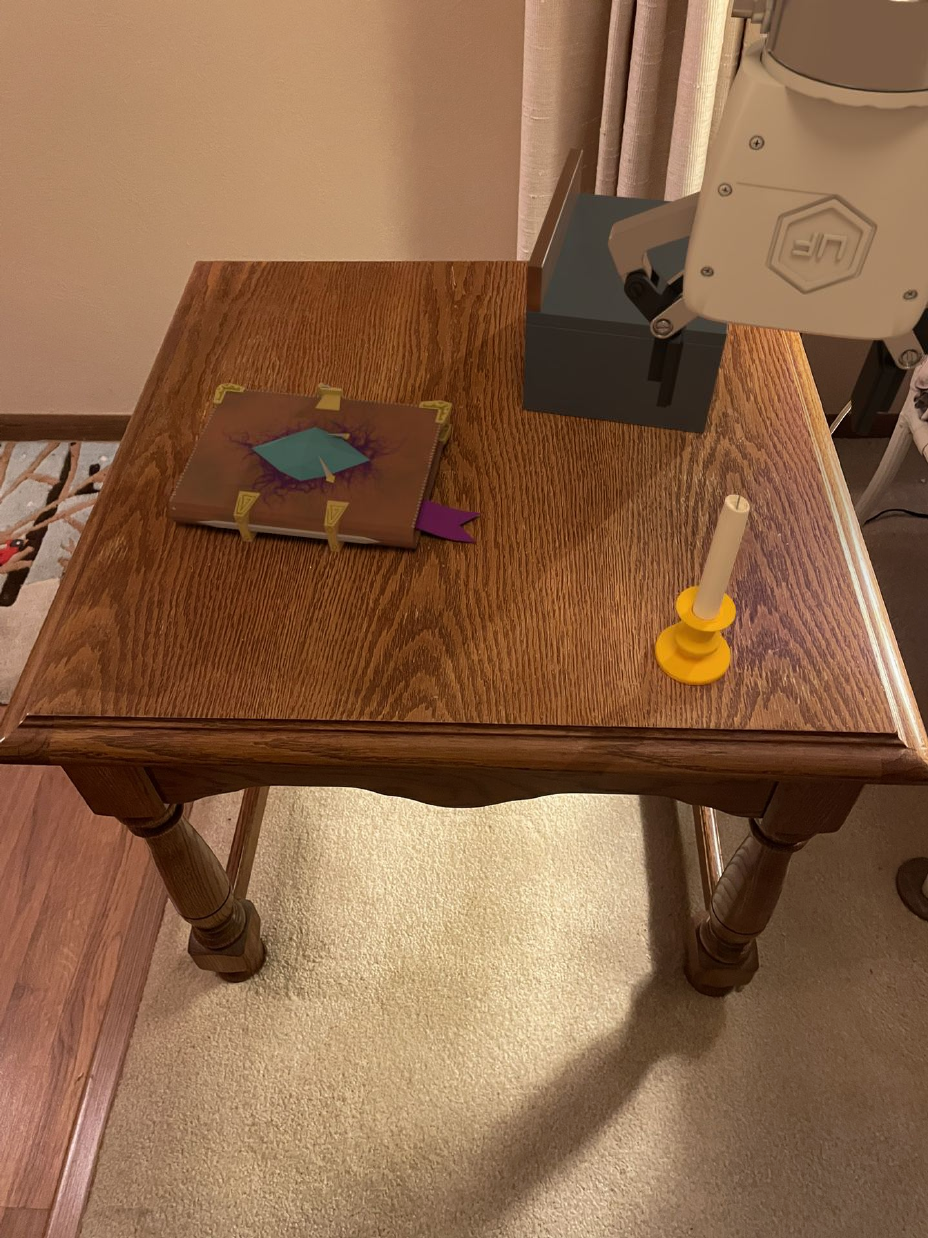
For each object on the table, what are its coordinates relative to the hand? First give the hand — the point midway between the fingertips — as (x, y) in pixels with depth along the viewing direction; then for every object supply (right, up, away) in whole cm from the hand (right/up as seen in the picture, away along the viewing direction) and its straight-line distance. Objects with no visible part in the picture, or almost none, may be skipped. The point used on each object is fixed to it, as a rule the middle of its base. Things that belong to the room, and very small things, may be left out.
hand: (760, 403), depth 45 cm
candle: (+1, -14, +17) cm, 22 cm away
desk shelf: (0, +14, +39) cm, 41 cm away
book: (-25, +1, +30) cm, 39 cm away
